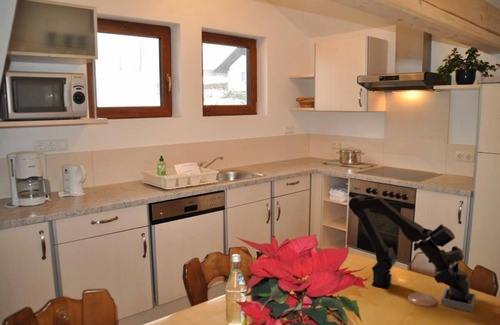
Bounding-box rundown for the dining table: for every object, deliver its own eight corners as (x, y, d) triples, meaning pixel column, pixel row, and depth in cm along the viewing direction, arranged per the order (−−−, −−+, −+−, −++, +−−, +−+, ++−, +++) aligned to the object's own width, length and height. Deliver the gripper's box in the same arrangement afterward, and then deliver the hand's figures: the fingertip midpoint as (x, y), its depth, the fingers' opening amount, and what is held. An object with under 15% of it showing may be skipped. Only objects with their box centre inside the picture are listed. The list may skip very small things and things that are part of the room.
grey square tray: (440, 304, 155) (441, 298, 154) (445, 293, 163) (445, 287, 163) (473, 312, 149) (473, 305, 149) (475, 300, 158) (475, 294, 157)
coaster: (405, 302, 157) (405, 300, 157) (411, 292, 165) (411, 290, 165) (434, 309, 152) (434, 307, 151) (438, 298, 160) (438, 296, 160)
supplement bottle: (471, 307, 152) (473, 276, 150) (451, 306, 154) (452, 275, 152) (465, 299, 159) (467, 269, 157) (446, 297, 160) (448, 268, 159)
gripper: (445, 248, 148) (479, 285, 143) (454, 234, 163) (484, 267, 158) (421, 265, 153) (452, 300, 148) (432, 250, 168) (460, 282, 164)
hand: (463, 287), depth 154 cm, fingers open, 7 cm apart
